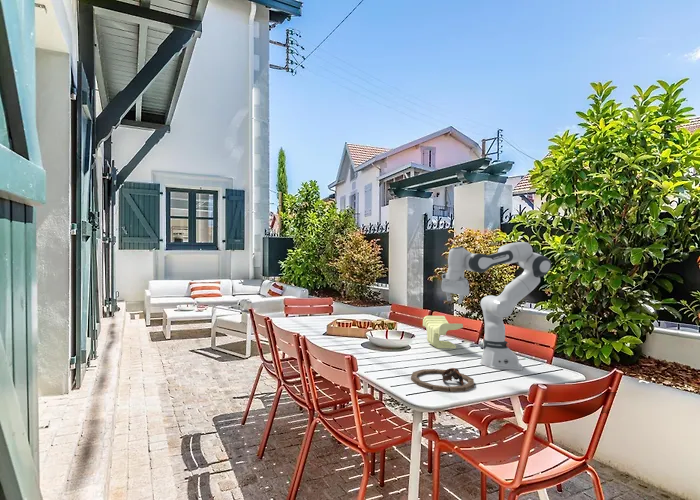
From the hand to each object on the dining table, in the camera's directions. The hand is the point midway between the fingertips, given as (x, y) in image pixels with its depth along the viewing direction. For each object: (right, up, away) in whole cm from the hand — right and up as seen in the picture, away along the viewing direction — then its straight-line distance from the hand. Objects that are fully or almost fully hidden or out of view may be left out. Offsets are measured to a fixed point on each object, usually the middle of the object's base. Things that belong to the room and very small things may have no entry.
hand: (454, 302), depth 226 cm
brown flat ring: (-12, -36, -23) cm, 44 cm away
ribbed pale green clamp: (+5, -37, +55) cm, 66 cm away
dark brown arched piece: (-7, -37, -24) cm, 44 cm away
